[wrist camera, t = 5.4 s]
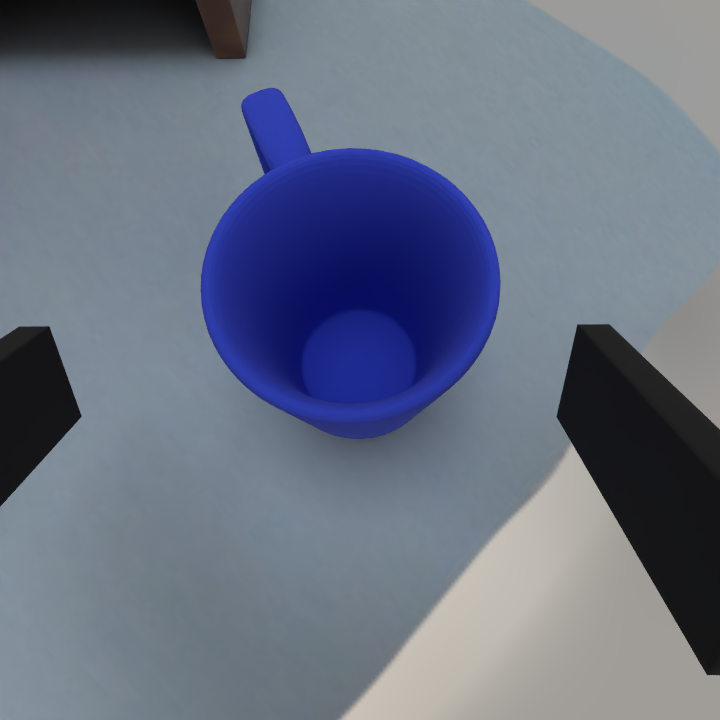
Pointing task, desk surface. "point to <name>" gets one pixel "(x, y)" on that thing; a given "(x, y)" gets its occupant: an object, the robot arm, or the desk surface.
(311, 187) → the mug
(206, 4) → the shelf
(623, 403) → the robot arm
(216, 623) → the desk surface
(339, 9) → the desk surface
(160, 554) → the desk surface
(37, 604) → the desk surface
